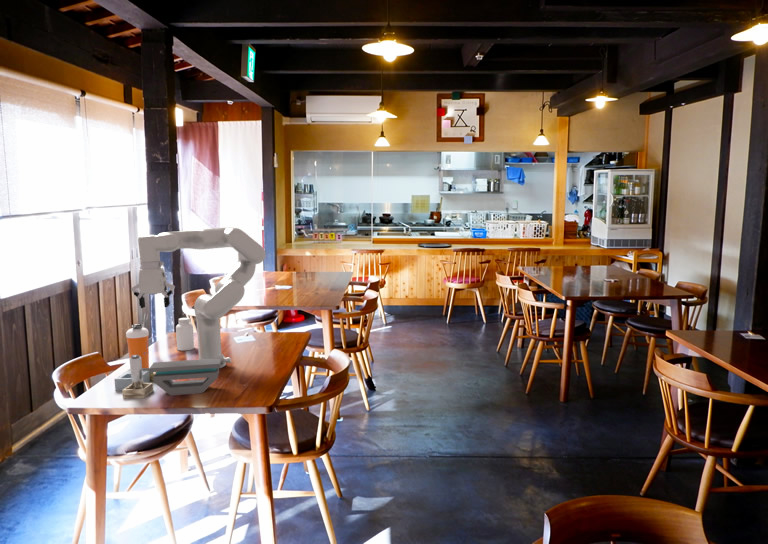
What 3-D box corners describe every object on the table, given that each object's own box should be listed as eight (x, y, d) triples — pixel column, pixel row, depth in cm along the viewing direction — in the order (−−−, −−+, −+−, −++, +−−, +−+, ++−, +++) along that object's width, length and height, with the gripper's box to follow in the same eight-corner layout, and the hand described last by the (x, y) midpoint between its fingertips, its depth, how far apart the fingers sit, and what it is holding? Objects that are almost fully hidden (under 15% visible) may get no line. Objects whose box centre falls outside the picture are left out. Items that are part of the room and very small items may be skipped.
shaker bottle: (129, 376, 244) (126, 328, 241) (127, 370, 252) (124, 324, 249) (152, 372, 248) (149, 326, 245) (150, 367, 256) (147, 322, 253)
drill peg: (145, 389, 223) (142, 354, 221) (141, 393, 219) (138, 357, 217) (135, 389, 223) (132, 354, 221) (130, 393, 219) (127, 357, 217)
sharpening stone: (151, 396, 218) (149, 368, 217) (155, 390, 226) (153, 362, 224) (221, 391, 222) (219, 363, 221) (222, 385, 230) (221, 358, 229)
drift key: (159, 378, 239) (159, 371, 239) (156, 381, 236) (155, 374, 235) (141, 378, 239) (141, 371, 239) (137, 381, 236) (137, 374, 235)
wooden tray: (153, 390, 225) (152, 382, 224) (144, 397, 217) (143, 389, 217) (132, 390, 225) (132, 383, 225) (122, 397, 217) (122, 389, 217)
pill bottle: (197, 348, 287) (196, 317, 285) (184, 351, 281) (182, 321, 279) (187, 346, 292) (185, 316, 290) (173, 349, 285) (171, 319, 283)
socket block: (153, 378, 239) (152, 368, 239) (138, 390, 226) (137, 378, 225) (131, 378, 240) (131, 368, 239) (115, 390, 226) (114, 379, 225)
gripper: (175, 263, 241) (179, 304, 244) (132, 265, 241) (137, 306, 243) (169, 265, 234) (173, 308, 236) (125, 267, 233) (129, 310, 236)
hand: (154, 307), depth 240 cm, fingers open, 9 cm apart
